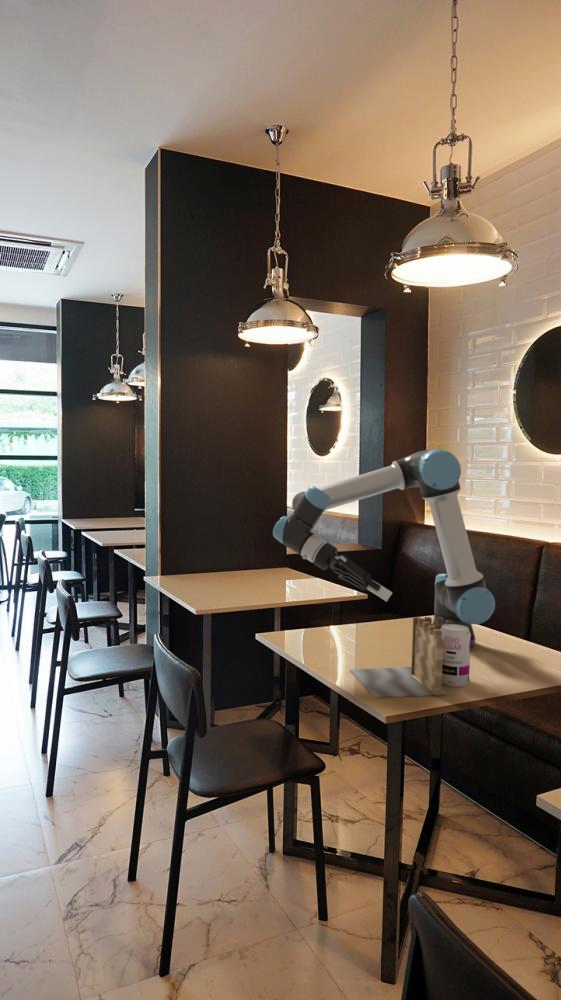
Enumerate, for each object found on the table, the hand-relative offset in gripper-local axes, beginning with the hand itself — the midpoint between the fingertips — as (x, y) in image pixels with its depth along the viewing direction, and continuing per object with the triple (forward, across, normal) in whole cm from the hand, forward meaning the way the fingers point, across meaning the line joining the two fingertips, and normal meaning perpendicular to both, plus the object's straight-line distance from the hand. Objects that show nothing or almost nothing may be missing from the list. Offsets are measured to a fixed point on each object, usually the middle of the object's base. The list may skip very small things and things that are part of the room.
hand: (389, 597), depth 186 cm
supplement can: (+26, -6, -8) cm, 28 cm away
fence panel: (+21, -2, -14) cm, 25 cm away
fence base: (+17, -5, -15) cm, 23 cm away
